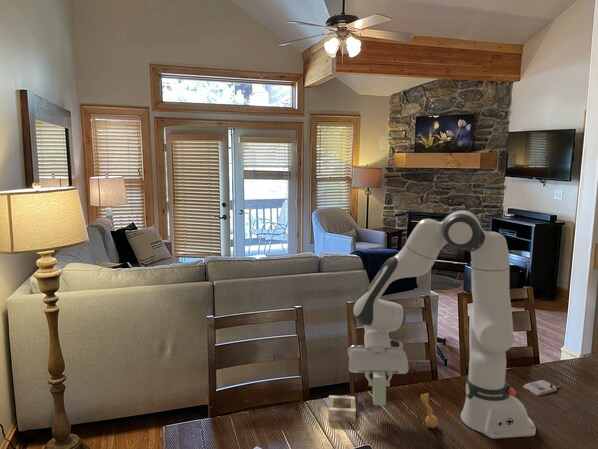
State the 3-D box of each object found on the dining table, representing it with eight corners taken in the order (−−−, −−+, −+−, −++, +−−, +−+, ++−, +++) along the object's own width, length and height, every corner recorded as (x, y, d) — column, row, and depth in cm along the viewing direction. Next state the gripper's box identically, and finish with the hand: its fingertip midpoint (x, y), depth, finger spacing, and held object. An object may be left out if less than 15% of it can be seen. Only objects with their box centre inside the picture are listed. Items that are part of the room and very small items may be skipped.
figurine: (442, 434, 139) (443, 399, 137) (423, 435, 139) (424, 400, 137) (432, 419, 147) (434, 386, 146) (415, 419, 147) (416, 386, 145)
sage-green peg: (384, 398, 150) (384, 371, 149) (385, 405, 146) (386, 377, 145) (372, 398, 151) (372, 371, 149) (373, 405, 147) (373, 376, 145)
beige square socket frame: (354, 407, 155) (354, 396, 154) (355, 422, 146) (355, 411, 145) (328, 405, 155) (329, 395, 155) (328, 421, 147) (328, 409, 146)
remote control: (519, 389, 167) (519, 382, 167) (548, 381, 173) (549, 374, 173) (533, 398, 161) (534, 390, 161) (564, 390, 167) (565, 382, 167)
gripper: (347, 341, 154) (348, 382, 146) (407, 343, 152) (411, 383, 144) (347, 348, 159) (348, 387, 151) (404, 349, 157) (408, 389, 149)
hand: (379, 385), depth 148 cm, fingers closed on sage-green peg, 4 cm apart
